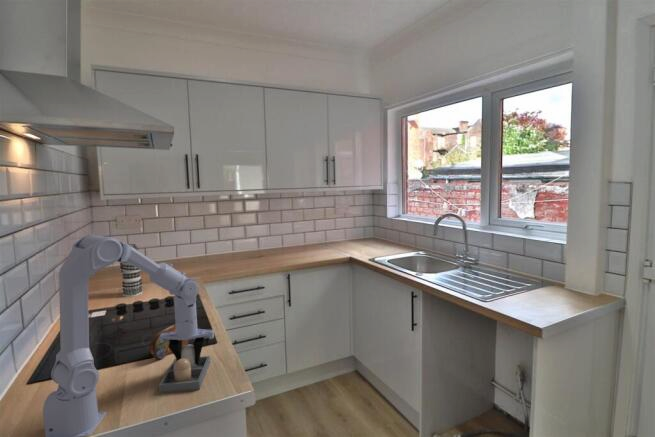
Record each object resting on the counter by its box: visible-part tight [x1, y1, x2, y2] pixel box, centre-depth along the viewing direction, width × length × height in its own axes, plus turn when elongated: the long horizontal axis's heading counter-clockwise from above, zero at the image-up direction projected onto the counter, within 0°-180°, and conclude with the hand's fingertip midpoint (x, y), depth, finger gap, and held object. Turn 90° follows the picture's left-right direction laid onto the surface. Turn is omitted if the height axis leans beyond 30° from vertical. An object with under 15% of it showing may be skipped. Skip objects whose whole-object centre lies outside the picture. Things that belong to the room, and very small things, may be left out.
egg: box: [181, 343, 197, 369], centre depth 103 cm, size 4×4×7 cm
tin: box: [149, 323, 190, 360], centre depth 115 cm, size 15×3×8 cm, turn 158°
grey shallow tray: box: [158, 355, 211, 394], centre depth 100 cm, size 10×14×3 cm
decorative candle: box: [119, 243, 143, 298], centre depth 175 cm, size 9×9×25 cm
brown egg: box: [174, 358, 192, 383], centre depth 96 cm, size 4×4×7 cm
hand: (189, 363), depth 103 cm, fingers closed on egg, 4 cm apart
